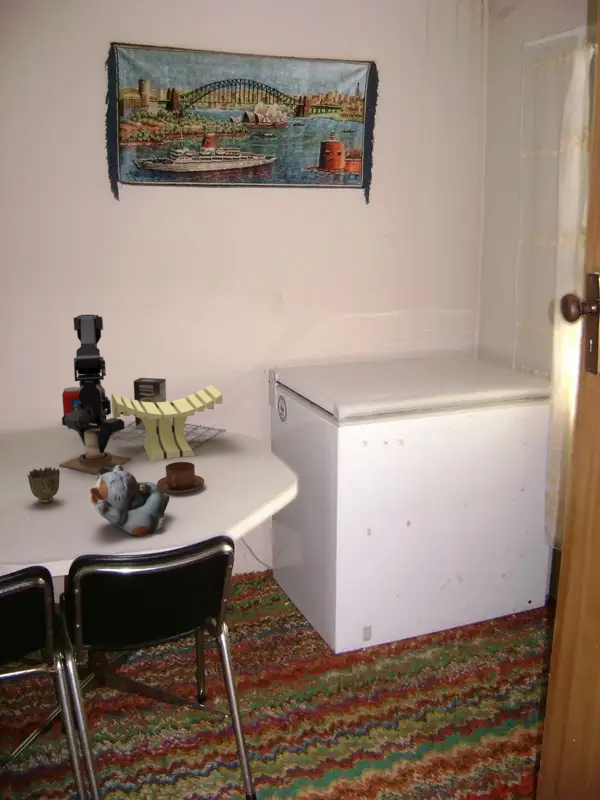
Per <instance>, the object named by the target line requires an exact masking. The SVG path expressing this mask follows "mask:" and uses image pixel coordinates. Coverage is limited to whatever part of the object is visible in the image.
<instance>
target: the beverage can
mask: <svg viewBox="0 0 600 800" xmlns="http://www.w3.org/2000/svg"><path fill="white" fill-rule="evenodd" d="M79 389H80V386H79V387H78V386H71V387H65V388H64V389H63V391H62V395H61V396H62V408H63V409H62V410H63V416H64V415H65V414H68V413H71V412H73V411H75V410H76V409H77V404H78V402H80V400H79Z"/></svg>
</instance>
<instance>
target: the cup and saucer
mask: <svg viewBox="0 0 600 800" xmlns="http://www.w3.org/2000/svg"><path fill="white" fill-rule="evenodd" d="M195 471H196V470H195V464H194V463H192V462H188V461H175V462H171V463H168V464H167V465H166V466H165V476H164V477H162V478H161V479H158V481H157V482H156V485H158V486H159V487H160V489H161V490H162V491H163V492H165V493H167V494H168V493H169V494H188V493H192V492H195V491H197V490H199V489H200V488H202V487H203V486H204V484H205V479H204V478H203V477H201V476H199V475H196V472H195Z"/></svg>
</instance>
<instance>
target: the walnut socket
mask: <svg viewBox="0 0 600 800" xmlns="http://www.w3.org/2000/svg"><path fill="white" fill-rule="evenodd" d="M131 461H132V458H131V457H126V456H121V455H120V456H119V455H116V454H112V453H110V452H108V451H104V458H103V459H98V460H87V459H86V452H85V453H82V454H81V455H79V456H78V457H76V458H73V459H71V460H68V461H67V460H66V461H65V462H63V463H59V465H58V466H59V467H60V468H65V469H69V470H74V471H77V472H83V473H88V474H90V475H91V474H92V475H95V476H96V475H97V476H98V474H99V472H98V469H99V468H105V469H108V470H112V469H115V466H117V465H120V466H122V465H123V464H124V465H125V464H126V463H129V462H131Z"/></svg>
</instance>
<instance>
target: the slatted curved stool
mask: <svg viewBox="0 0 600 800" xmlns="http://www.w3.org/2000/svg"><path fill="white" fill-rule="evenodd" d="M223 403H224V402H223V393H222V392H221V391H219V390H218V389H217V388H216V387H215V386H214V385H208V386H206V387H204V390H203V389H200V390H198V391H195V394H193V393H192V394H189V395H187V396H186V398H185V397H183V398H179V399H178V398H177V399H174V400H171V402H170V401H166V402H156V404H154V403H153V402H141V405H140V404H139V402H138V401H137V400H134V398H133V399H129V397H126V396H122V395H121V396H120V395H119V394H118V393H115V392H112V393H111V414H112V418H117V419H118V418H121V415H123V417H130V416H131V415H132V416H133V417H134V418H135V417H138V418H140V417H141V419H142V421H143V423H144V426H145V429H144V430H145V433H146V435H145V436H146V437H145V441H144V450H145V452H146V454H147V456H148V458H149V460H150V461H157V460H158V461H159V460H164V459H167V460H168V459H176V458H177V459H179V458H181V457H183V458H186V457H187V458H188V457H196V454H195V452H194V451H193V449H192V448H191V446H190V444H189V442H188V440H187V439H186V437H185V434H184V433H185V432H184V429H185V424H186V422H187V420H188V417H192V416H193V417H194V416H195V412H197V413H200V412H205V409H208V410H212V411H213V410H214V409H215V405H221V404H223ZM156 419H157V427H156Z"/></svg>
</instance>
